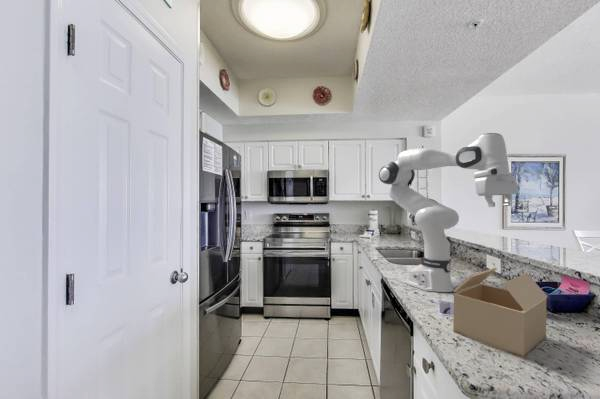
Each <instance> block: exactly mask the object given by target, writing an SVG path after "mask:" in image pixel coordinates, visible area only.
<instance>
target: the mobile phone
mask: <svg viewBox="0 0 600 399" xmlns="http://www.w3.org/2000/svg"><path fill="white" fill-rule="evenodd" d="M437 305H438V314H439V315H441V316H445V317H451V318H454V302H452V301H451V302H450V301H444V300H438V304H437Z"/></svg>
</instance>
